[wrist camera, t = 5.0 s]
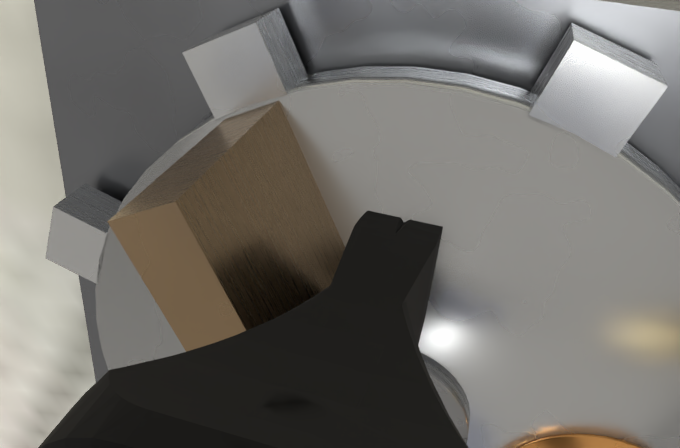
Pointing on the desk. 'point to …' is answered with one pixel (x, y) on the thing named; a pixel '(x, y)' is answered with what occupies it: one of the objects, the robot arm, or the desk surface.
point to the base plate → (307, 68)
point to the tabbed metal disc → (419, 205)
